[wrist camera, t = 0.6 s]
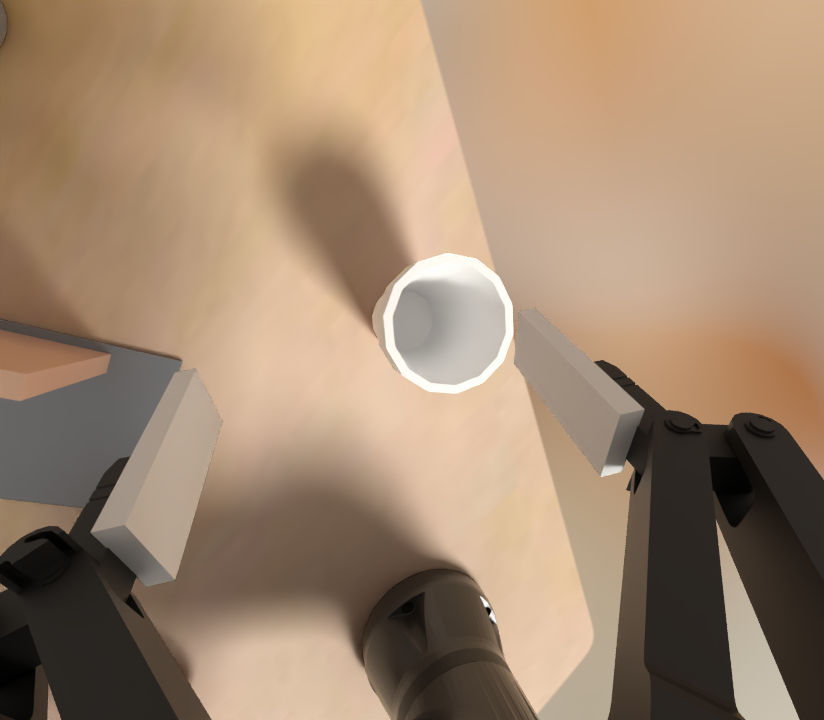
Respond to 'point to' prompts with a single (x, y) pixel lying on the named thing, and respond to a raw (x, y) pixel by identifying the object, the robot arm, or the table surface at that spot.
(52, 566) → the robot arm
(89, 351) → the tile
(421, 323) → the foam cup
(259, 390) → the table surface
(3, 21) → the travel mug
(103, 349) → the felt mat
